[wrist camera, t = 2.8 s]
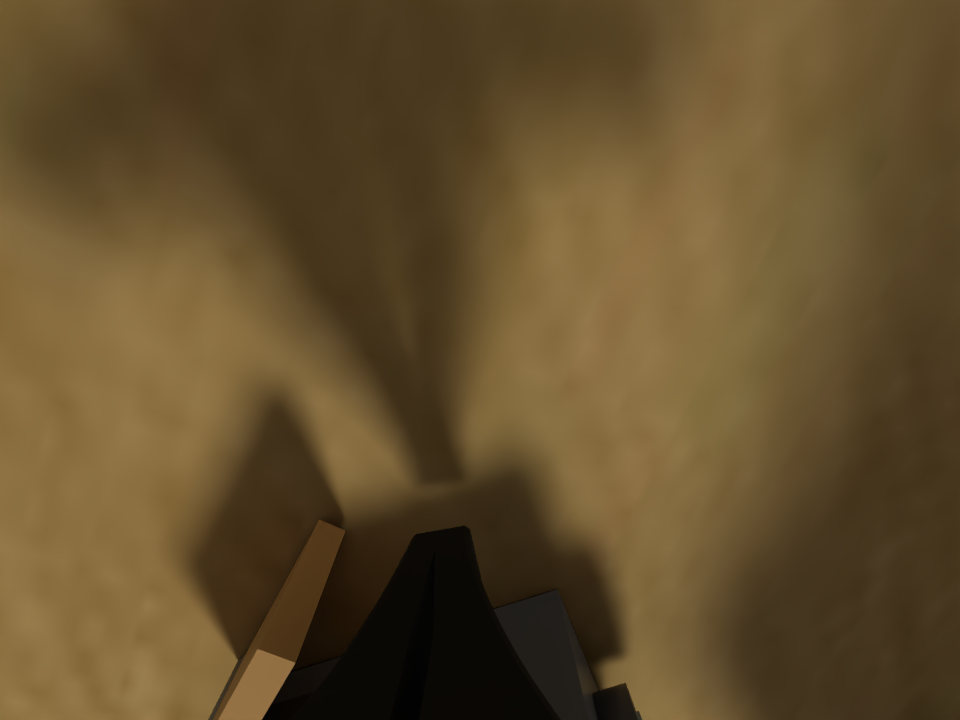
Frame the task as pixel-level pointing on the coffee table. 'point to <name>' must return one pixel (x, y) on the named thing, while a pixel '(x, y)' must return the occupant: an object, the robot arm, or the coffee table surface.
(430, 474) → the coffee table surface
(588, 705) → the camera body
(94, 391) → the coffee table surface
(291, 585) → the side door
